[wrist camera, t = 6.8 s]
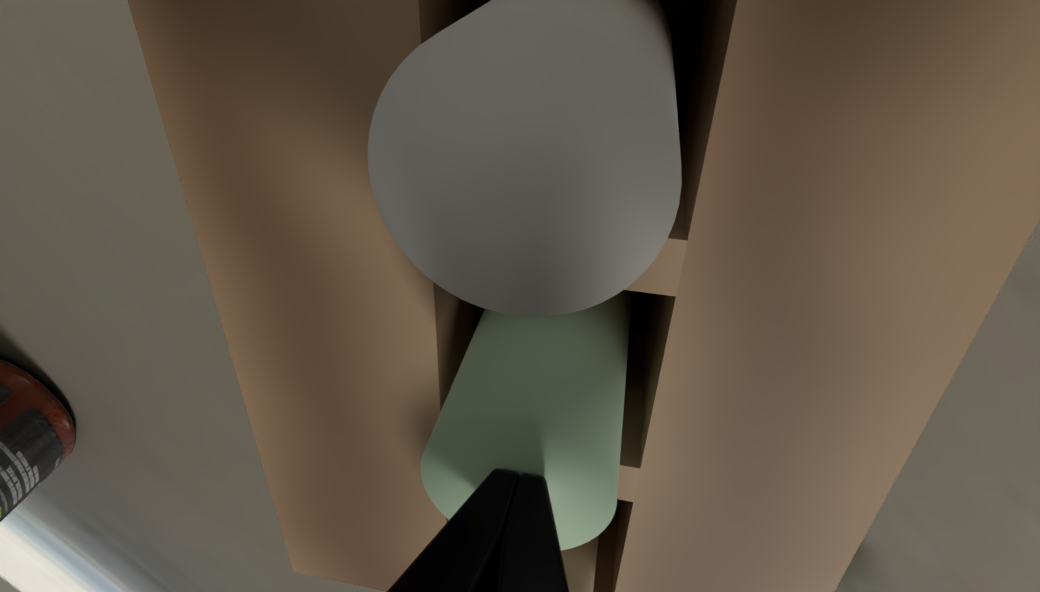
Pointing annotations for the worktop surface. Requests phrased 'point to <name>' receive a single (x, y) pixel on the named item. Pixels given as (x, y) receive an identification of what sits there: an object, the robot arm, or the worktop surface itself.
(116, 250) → the worktop surface
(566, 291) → the plug grey
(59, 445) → the supplement bottle
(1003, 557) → the worktop surface
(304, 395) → the wooden plug holder
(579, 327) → the plug green
